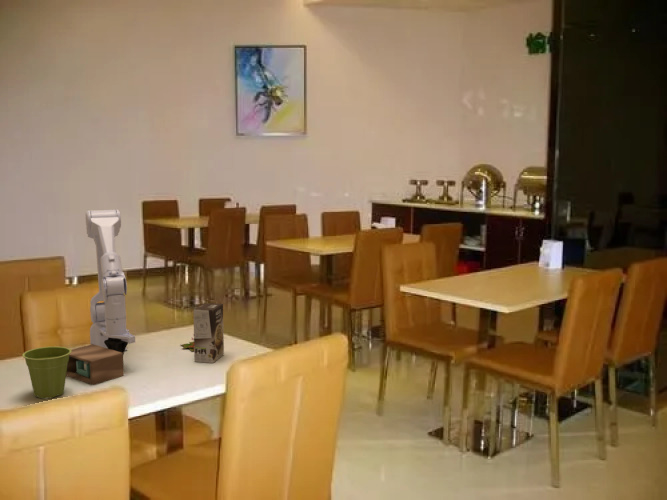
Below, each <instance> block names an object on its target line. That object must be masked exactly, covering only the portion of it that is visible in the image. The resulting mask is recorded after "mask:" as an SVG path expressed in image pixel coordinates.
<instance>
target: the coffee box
mask: <svg viewBox="0 0 667 500" xmlns="http://www.w3.org/2000/svg"><path fill="white" fill-rule="evenodd" d="M193 339H194V341H193V342H194V347H193V348H194V351H193V352H194V356H193V357H194V358H193V359H194V362H197V363H206V364H207V363H209V364H214V363H215V362H216V361H218V360H219V359H220V358H222V357H223V356H222V355H223V354H225V346H224V344H225V343H224V341H225V340H224V339H225V338H224V304H223V303H212V302H211V303H206V302H205V303H204V302H203V304H201V305H199V306H197V307H195V308H194V309H193Z"/></svg>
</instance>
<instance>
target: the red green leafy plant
mask: <svg viewBox="0 0 667 500" xmlns="http://www.w3.org/2000/svg"><path fill="white" fill-rule="evenodd" d="M191 340H192V341H189V342H188V343H183V344H181V346H183V347H182V348H181V349H182V350H184V349H187V348H189V350H190V352H194V337H191Z"/></svg>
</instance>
